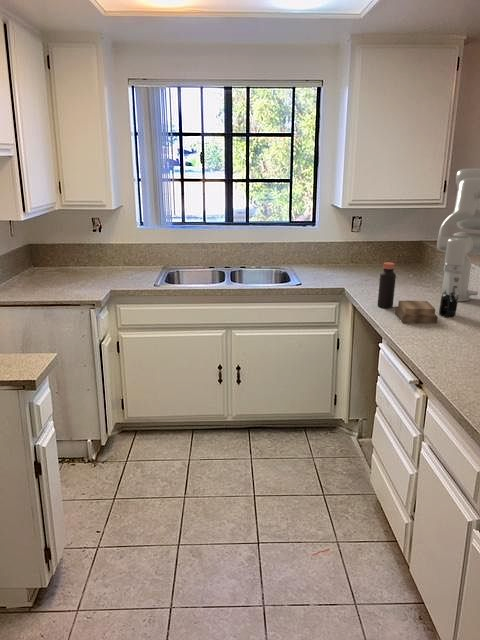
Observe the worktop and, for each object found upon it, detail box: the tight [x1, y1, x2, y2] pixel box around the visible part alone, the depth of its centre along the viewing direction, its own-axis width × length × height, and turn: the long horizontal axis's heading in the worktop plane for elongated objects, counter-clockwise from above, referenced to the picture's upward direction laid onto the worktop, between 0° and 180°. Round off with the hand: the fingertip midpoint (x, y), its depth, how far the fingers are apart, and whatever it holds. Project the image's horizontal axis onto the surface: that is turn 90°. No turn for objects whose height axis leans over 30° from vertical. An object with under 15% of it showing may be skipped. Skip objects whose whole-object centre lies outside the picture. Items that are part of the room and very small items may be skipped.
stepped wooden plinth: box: [394, 300, 438, 324], centre depth 219 cm, size 14×14×6 cm
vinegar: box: [377, 261, 397, 309], centre depth 234 cm, size 7×7×20 cm
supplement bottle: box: [438, 290, 459, 318], centre depth 223 cm, size 7×7×12 cm
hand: (448, 307), depth 223 cm, fingers open, 8 cm apart
